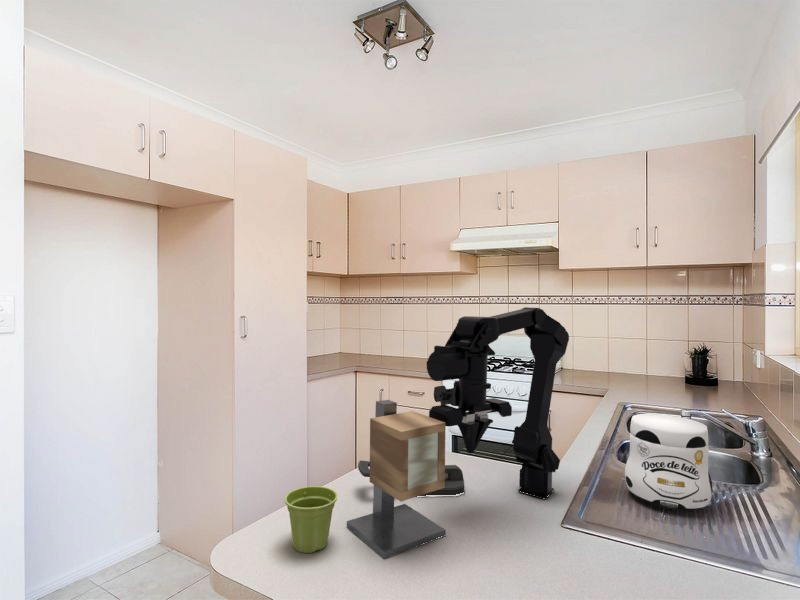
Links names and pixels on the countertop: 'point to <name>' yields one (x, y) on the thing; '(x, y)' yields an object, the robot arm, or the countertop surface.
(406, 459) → the cardboard box
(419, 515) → the post stand
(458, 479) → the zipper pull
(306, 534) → the plant pot
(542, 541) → the countertop surface
